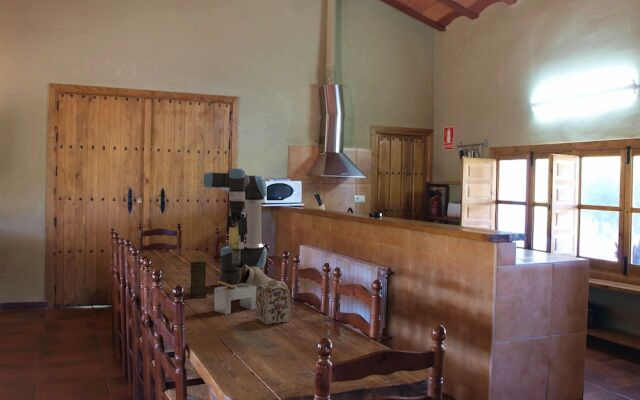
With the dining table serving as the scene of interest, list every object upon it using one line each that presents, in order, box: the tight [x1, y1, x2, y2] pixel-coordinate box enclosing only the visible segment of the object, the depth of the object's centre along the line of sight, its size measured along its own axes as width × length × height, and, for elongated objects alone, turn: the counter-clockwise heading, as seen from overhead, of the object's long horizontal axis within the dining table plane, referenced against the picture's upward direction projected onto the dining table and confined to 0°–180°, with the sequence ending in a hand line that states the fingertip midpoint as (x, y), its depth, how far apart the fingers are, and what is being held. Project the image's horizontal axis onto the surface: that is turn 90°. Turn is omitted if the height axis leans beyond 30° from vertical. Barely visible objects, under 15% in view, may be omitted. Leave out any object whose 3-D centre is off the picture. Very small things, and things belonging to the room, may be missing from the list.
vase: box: [237, 264, 286, 300], centre depth 287 cm, size 22×22×28 cm
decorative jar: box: [256, 279, 291, 325], centre depth 247 cm, size 12×12×18 cm
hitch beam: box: [213, 283, 257, 315], centre depth 266 cm, size 18×9×11 cm, turn 135°
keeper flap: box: [216, 280, 235, 288], centre depth 262 cm, size 7×6×1 cm
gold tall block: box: [228, 226, 241, 265], centre depth 268 cm, size 7×7×18 cm
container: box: [189, 261, 208, 299], centre depth 293 cm, size 9×9×18 cm
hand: (236, 247), depth 268 cm, fingers closed on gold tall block, 7 cm apart
